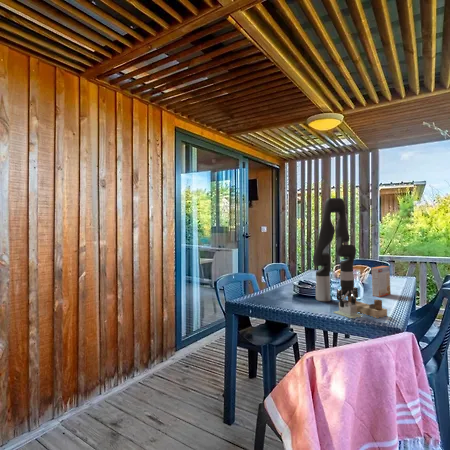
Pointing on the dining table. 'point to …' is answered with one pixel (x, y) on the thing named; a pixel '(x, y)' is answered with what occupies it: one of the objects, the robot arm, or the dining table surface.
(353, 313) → the beige rectangular block
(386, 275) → the cracker box
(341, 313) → the mat
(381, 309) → the plane body
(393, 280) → the dining table surface
